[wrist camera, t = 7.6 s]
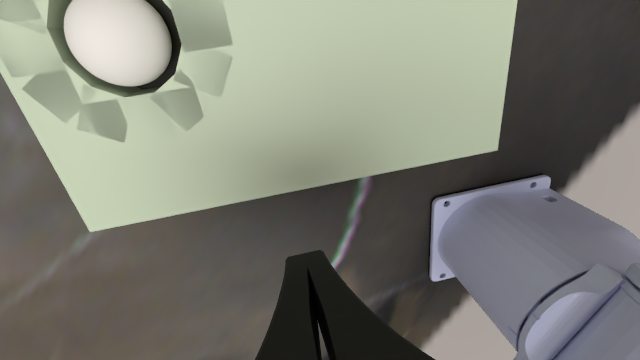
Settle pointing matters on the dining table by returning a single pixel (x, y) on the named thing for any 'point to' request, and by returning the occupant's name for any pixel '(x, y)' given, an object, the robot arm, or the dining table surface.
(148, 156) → the putting deck
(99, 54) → the ball
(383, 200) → the dining table surface
